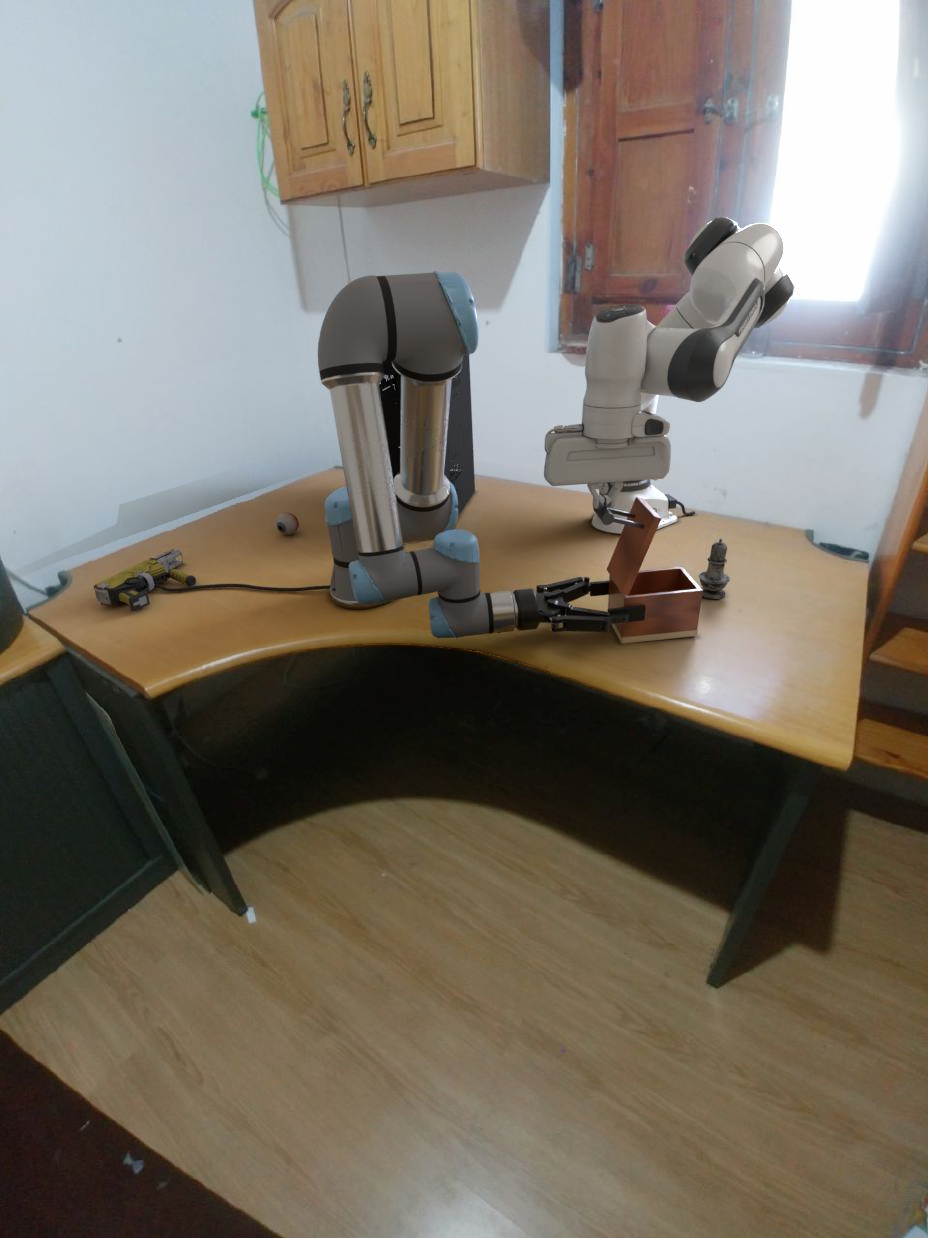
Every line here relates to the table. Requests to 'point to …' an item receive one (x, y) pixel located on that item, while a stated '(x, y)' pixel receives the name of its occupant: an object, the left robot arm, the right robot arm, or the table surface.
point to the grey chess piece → (715, 572)
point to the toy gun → (141, 581)
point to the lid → (630, 541)
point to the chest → (659, 605)
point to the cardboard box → (457, 433)
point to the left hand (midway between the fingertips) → (633, 598)
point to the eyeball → (287, 523)
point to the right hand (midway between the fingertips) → (603, 507)
